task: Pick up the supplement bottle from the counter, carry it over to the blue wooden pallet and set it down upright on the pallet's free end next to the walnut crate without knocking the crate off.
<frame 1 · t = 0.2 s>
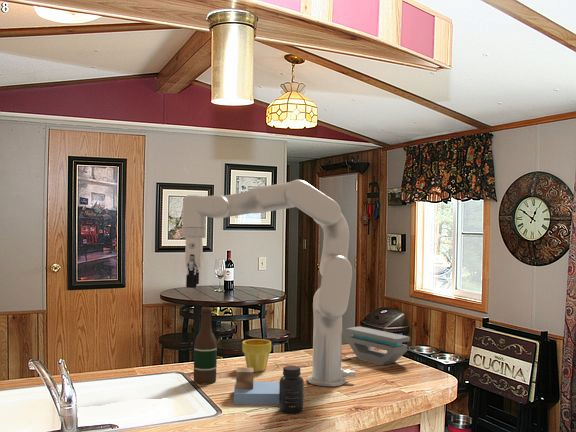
hand: (192, 285, 181), 31 cm above the counter, tool pointing down, fingers open, 9 cm apart
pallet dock: (261, 397, 166), on the counter
plant pot: (256, 369, 198), on the counter
crate: (244, 386, 166), point 3 cm above the counter, touching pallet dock
beer bottle: (204, 381, 181), on the counter
supplement bottle: (290, 411, 155), on the counter
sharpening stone: (376, 361, 214), on the counter
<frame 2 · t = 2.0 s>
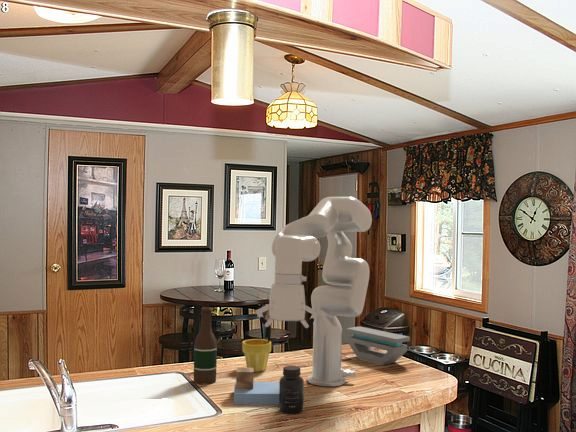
hand: (286, 341, 156), 19 cm above the counter, tool pointing down, fingers open, 9 cm apart
nothing on the counter moved.
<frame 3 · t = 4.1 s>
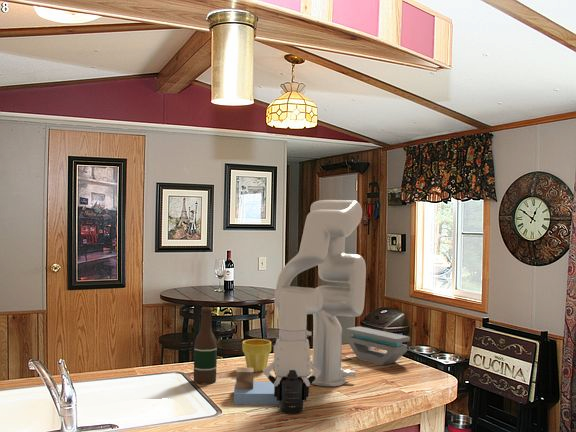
hand: (291, 398, 155), 3 cm above the counter, tool pointing down, fingers closed on supplement bottle, 6 cm apart
supplement bottle: (290, 411, 155), on the counter, touching gripper
everything else where it was.
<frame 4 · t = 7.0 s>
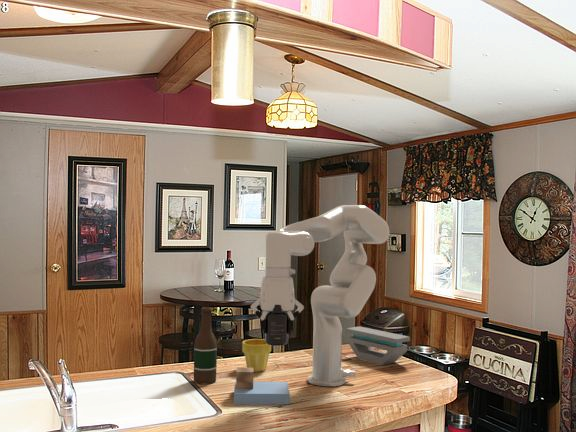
hand: (276, 332, 166), 19 cm above the counter, tool pointing down, fingers closed on supplement bottle, 6 cm apart
supplement bottle: (276, 344, 166), point 16 cm above the counter, touching gripper
everything else where it was.
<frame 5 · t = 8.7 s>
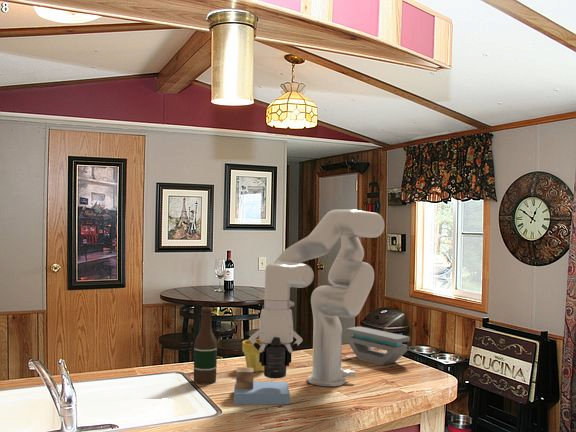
hand: (275, 364, 166), 10 cm above the counter, tool pointing down, fingers closed on supplement bottle, 6 cm apart
supplement bottle: (274, 376, 166), point 6 cm above the counter, touching gripper
everything else where it was.
when the fingers open (8 cm above the counter, at t = 10.1 s): supplement bottle drops 1 cm, resting on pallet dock.
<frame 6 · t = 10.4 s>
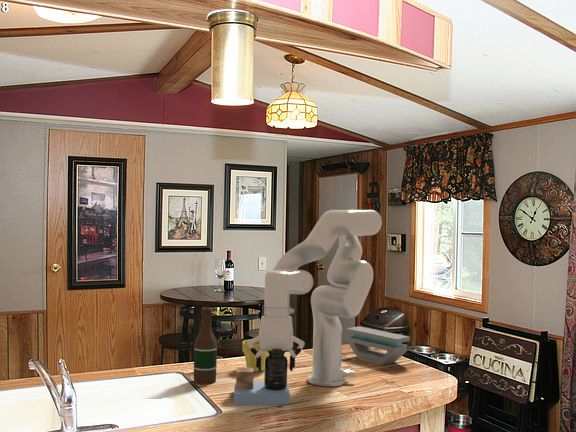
hand: (275, 369, 166), 8 cm above the counter, tool pointing down, fingers open, 9 cm apart
supplement bottle: (275, 387, 166), point 3 cm above the counter, touching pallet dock
everything else where it was.
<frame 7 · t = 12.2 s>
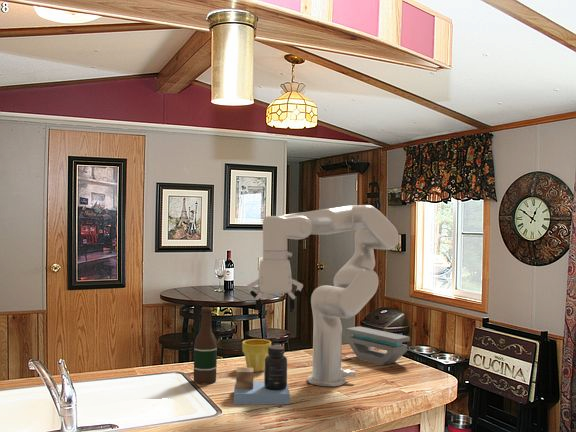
hand: (275, 311, 171), 25 cm above the counter, tool pointing down, fingers open, 9 cm apart
nothing on the counter moved.
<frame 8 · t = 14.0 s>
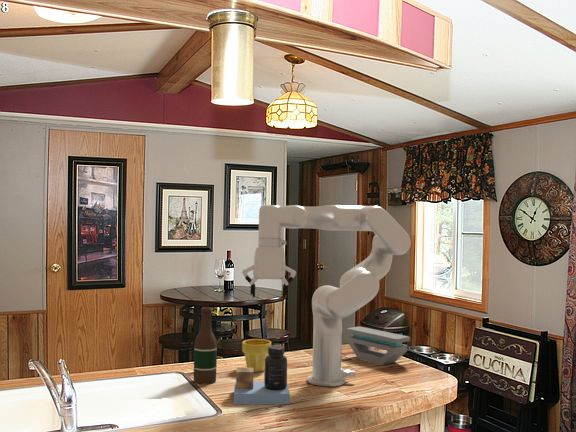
hand: (268, 297, 178), 28 cm above the counter, tool pointing down, fingers open, 9 cm apart
nothing on the counter moved.
at the end: supplement bottle inside the target area on the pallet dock (4.2 cm from its centre), point 2.8 cm above the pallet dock's base; supplement bottle tilted 0°; crate inside the target area on the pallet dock (5.1 cm from its centre), point 3.0 cm above the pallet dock's base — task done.
